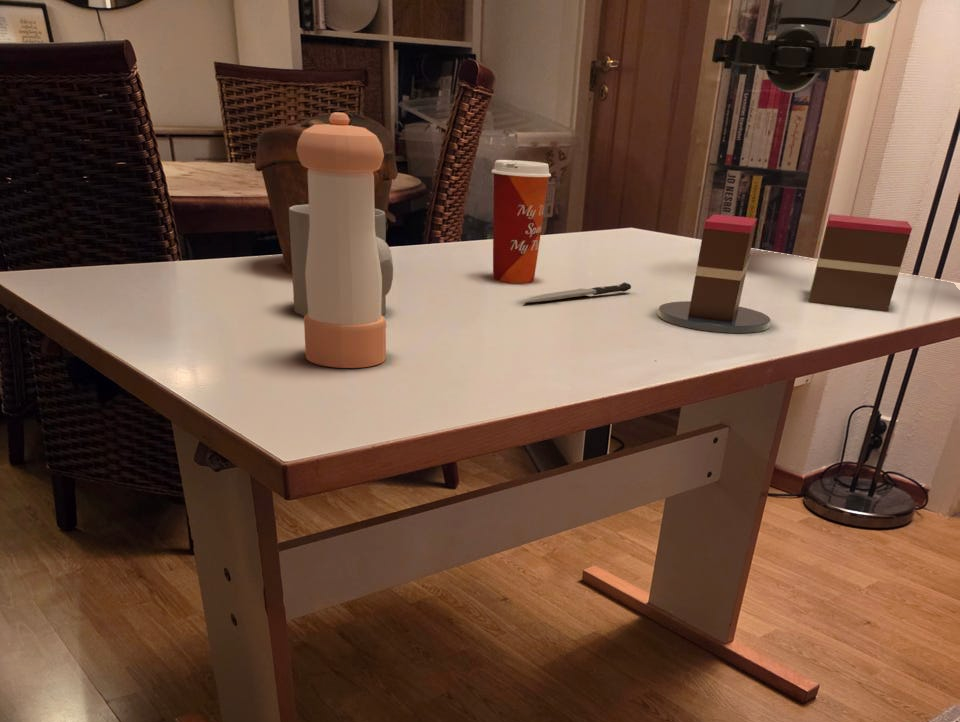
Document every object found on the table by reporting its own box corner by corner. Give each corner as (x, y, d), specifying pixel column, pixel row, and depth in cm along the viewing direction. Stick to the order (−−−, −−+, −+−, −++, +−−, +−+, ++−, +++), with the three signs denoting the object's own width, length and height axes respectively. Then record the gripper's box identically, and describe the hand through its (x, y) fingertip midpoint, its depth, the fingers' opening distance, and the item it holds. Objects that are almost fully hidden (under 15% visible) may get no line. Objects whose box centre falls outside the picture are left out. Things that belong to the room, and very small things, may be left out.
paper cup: (525, 287, 113) (535, 165, 105) (475, 278, 116) (481, 160, 108) (551, 279, 119) (562, 163, 111) (502, 271, 122) (509, 158, 114)
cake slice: (738, 309, 104) (757, 218, 99) (732, 322, 98) (752, 225, 92) (696, 304, 106) (713, 214, 100) (688, 316, 99) (705, 220, 94)
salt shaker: (291, 352, 79) (276, 108, 69) (359, 344, 83) (355, 111, 73) (330, 372, 74) (321, 113, 64) (401, 362, 78) (402, 116, 68)
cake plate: (772, 316, 106) (773, 309, 105) (765, 338, 95) (767, 331, 95) (666, 303, 109) (667, 296, 109) (649, 323, 98) (650, 316, 98)
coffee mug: (280, 303, 96) (274, 204, 91) (362, 299, 101) (360, 203, 95) (329, 331, 87) (325, 222, 81) (416, 324, 91) (418, 220, 86)
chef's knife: (507, 301, 105) (523, 304, 103) (507, 291, 104) (523, 294, 102) (616, 289, 115) (632, 291, 113) (616, 279, 115) (633, 282, 113)
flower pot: (283, 285, 105) (272, 113, 95) (248, 257, 120) (236, 105, 110) (419, 282, 112) (422, 121, 102) (370, 255, 127) (369, 113, 117)
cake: (884, 300, 119) (908, 221, 114) (887, 311, 113) (912, 227, 108) (809, 292, 122) (829, 214, 117) (808, 301, 116) (829, 219, 110)
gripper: (712, 24, 125) (694, 9, 108) (894, 32, 119) (906, 18, 102) (702, 85, 129) (683, 80, 112) (877, 96, 123) (886, 93, 106)
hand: (789, 50), depth 107 cm, fingers open, 13 cm apart
